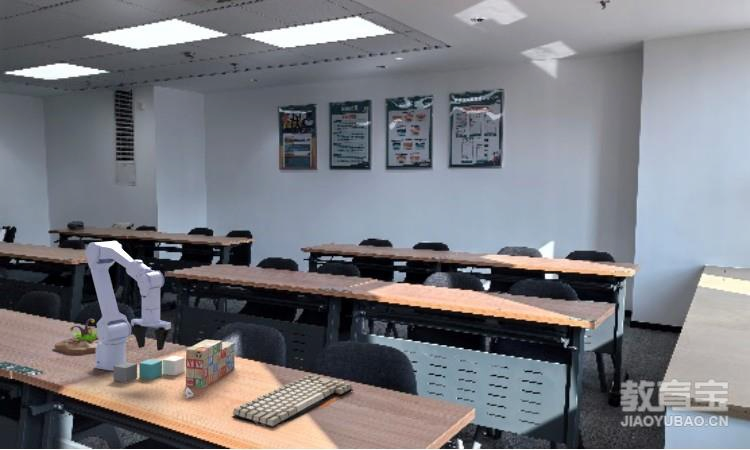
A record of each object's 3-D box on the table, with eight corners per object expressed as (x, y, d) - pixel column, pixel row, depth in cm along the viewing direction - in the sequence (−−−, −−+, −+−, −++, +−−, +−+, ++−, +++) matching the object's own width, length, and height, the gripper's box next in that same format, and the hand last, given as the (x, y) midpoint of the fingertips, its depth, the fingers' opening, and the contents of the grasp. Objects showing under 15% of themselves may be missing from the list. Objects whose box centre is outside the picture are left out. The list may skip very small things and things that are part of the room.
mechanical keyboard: (281, 434, 148) (281, 421, 147) (226, 419, 157) (226, 407, 157) (355, 392, 181) (355, 381, 180) (306, 381, 190) (306, 371, 190)
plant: (125, 346, 224) (125, 318, 224) (76, 358, 208) (75, 328, 207) (96, 338, 235) (96, 312, 235) (48, 348, 219) (47, 320, 218)
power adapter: (183, 397, 172) (183, 387, 171) (192, 395, 173) (192, 385, 173) (187, 400, 169) (187, 390, 169) (195, 398, 171) (195, 388, 171)
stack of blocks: (218, 367, 201) (218, 332, 200) (234, 368, 199) (235, 334, 199) (185, 386, 180) (185, 348, 179) (203, 388, 179) (203, 350, 178)
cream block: (162, 374, 192) (162, 359, 191) (172, 369, 196) (172, 355, 196) (175, 376, 190) (175, 361, 190) (184, 371, 195) (184, 357, 194)
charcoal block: (113, 381, 183) (113, 366, 183) (124, 376, 188) (124, 361, 188) (125, 383, 182) (125, 368, 181) (137, 378, 186) (137, 363, 186)
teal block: (139, 377, 187) (139, 362, 187) (149, 373, 192) (149, 358, 192) (151, 379, 186) (151, 364, 185) (162, 375, 190) (162, 360, 190)
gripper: (124, 308, 186) (124, 349, 187) (160, 312, 181) (160, 354, 182) (139, 304, 193) (139, 343, 194) (175, 308, 188) (175, 348, 189)
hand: (150, 348), depth 188 cm, fingers open, 7 cm apart
